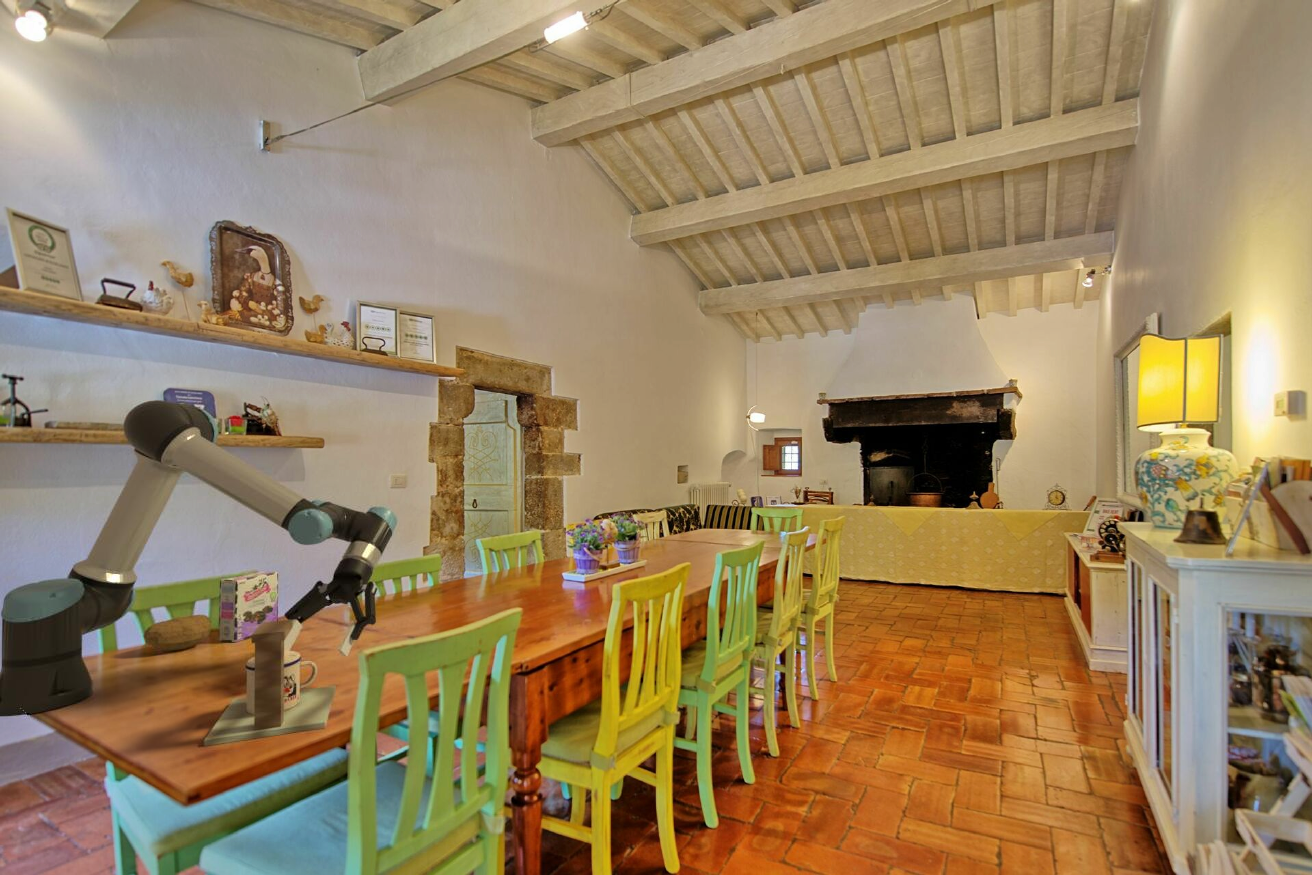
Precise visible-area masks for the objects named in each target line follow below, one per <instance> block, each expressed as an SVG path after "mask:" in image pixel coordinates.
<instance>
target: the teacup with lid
mask: <svg viewBox="0 0 1312 875" xmlns="http://www.w3.org/2000/svg"><path fill="white" fill-rule="evenodd" d="M301 660H302V655H301V654H300V653H299V652H298V651H293V650H290V651H289V650H286V649H284V711H285V710H288V709H290V708H292V707H294V706H296V705H297V704H298V703H299V700H300V690H302V689H304V688H307V687H308V686H310V685H311V684H312V683H313V682H314V680H315V679H316V677H317V674H318V667H317V664H316V663H315V662H313V661H310V660H302V661H301ZM244 666H245V668H246V697H247V712H248V713H250V714H254V695H255V656H253V657H251V658H249V659H248V660H247V662H246V663H245V665H244ZM304 666H310V667H312V668H311V669H312V671H311V672H312V673H311V675H310V677H309V678H308V680H306V681H305V682H303V683H301V682H300V677H301V676H300V674H301V673H300V672H301V671H300V669H301V668H300V667H304Z"/></svg>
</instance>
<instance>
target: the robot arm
mask: <svg viewBox="0 0 1312 875" xmlns="http://www.w3.org/2000/svg"><path fill="white" fill-rule="evenodd" d="M122 428H123V434H124V437H125V439H126V440H127V442H128V443H129V444H130V445H131V446H132V447H133V448H134V449H133V452H134V454H135V456H136V458H137V461H136V463H135V465H134V467H133V469H132V471H131V472H130V475H129V477H128V478H127V480H126V482H125V484H124V487H123V488H122V490H121V492H120V494H119V496H118V498H117V500H116V502H115V504H114V506H113V507H112V509H111V511H110V513H109V516H107V520H106V521H105V523H104V524H103V527H102V529H101V530H100V533H99V535H98V536H97V538H96V540H95V542H94V544H93V546H92V547H91V550H90V552H89V554H88V555H87V557H86V559H83V560H81V561H78V562H75V563H74V564H73V565H72V567H71V570H70V571H69V574H68V575H67V577H66V578H54V579H45V580H41V581H38V582H31V583H28V584H27V583H26V584H23V585H20V586H18V587H16V588H13V589H12V590H10V591H8V592H7V593H6V595H4V598H3V602H2V609H1V611H0V616H1V669H0V717H18V716H25V715H27V714H26V713H29V714H28V715H32V714H36V713H37V714H38V713H43V712H47V711H50V710H55V709H59V708H63V707H66V706H69V705H72V704H75V703H78V702H80V701H82V700H84V699H87V698H88V697H90V696H91V695H92V694H93V689H94V687H93V684H94V683H93V682H94V680H93V679H92V677H91V675H90V672H89V670H88V667H87V666H86V663H85V661H84V660H85V659H84V658H83V636H84V635H86V634H89V633H91V632H94V631H97V630H100V629H103V628H106V627H109V626H110V625H112V624H114V623H116V622H117V621H120V620H121V619H122V618H124V617H125V615H127V614H128V613H129V612H130V611H131V609H132V607H133V606H134V604H135V601H136V596H137V594H136V589H135V583H136V582H137V579H138V576H137V574H136V572H135V570H134V568H135V566H136V564H137V563H138V561H139V559H140V557H141V554H142V553H143V550H144V548H145V547H146V545H147V543H148V541H149V539H150V537H151V535H152V533H153V531H154V529H155V527H156V525H157V523H158V521H159V519H160V517H161V515H162V513H163V512H164V509H165V508H166V506H167V504H168V502H169V500H170V498H171V496H172V493H173V492H174V490H175V488H176V486H177V484H178V482H179V480H180V478H181V476H182V474H184V473H187V474H189V475H191V476H193V477H194V478H196V479H197V480H200V481H201V482H203V483H205V484H206V485H208V486H210V487H211V488H213V489H215V490H217V491H219V493H222V494H223V495H225V496H227V497H228V498H230V499H232V500H234V501H236V502H237V503H239V504H241V505H242V506H244V507H246V508H248V509H250V510H251V511H253V512H255V514H258V515H260V516H261V517H263V518H265V519H266V520H268V521H270V522H271V523H274V524H275V525H277V526H278V527H280V528H282V529H284V530H285V531H287V532H288V533H289V536H290V537H291V539H292V540H293V541H294V542H295V543H297V544H300V545H303V546H310V545H311V546H312V545H318V544H321V543H323V542H325V541H326V540H329V539H332V538H333V539H337V540H340V541H344V542H347V543H349V544H348V546H347V548H346V549H345V552H344V554H343V556H342V557H341V560H340V561H339V563H338V565H337V566H336V568H335V570H334V572H333V574H332V575H333V577H332V580H331V581H330V582H328V583H324V582H323V581H322V580H317V581H316V583H315V584H314V586H313V587H312V588H311V589H310V590H309V591H308V592H307V593H306V594H305V595H304V596H302V597H301V598H300V599H299V600H298V601H297V602H296V603H294V604H293V606H292V607H290V608H289V609H288V610H287V611H286V612H285V613H284V615H283V616H284V617H285V619H286V620H293V628H292V629H291V631H290V632H289V634H288V635H287V637H286V638H285V640H284V649H286V650H289V651H291V648H292V647H293V645H294V644H295V641H296V639H297V638H298V636H299V634H300V632H301V631H302V628H303V623H304V622H305V621H307V620H309V619H310V618H312V617H313V616H314V615H316V614H317V613H319V612H320V611H322V610H323V609H324V608H326V607H331V606H332V605H333V604H335V605H338V604H339V605H340V604H341V605H348V604H350V607H351V609H352V612H353V614H354V615H353V616H354V617H355V618H354V620H355V621H354V620H351V622H350V624H349V626H348V628H347V630H346V632H345V634H344V636H343V637H342V640H341V642H340V644H339V646H338V648H337V651H338V652H339V653H340V654H341V655H342V657H348V655H349V653H350V651H351V649H352V647H353V644H354V643H355V641H358V640H359V638H360V637H361V635H362V632H363V630H364V629H365V628H366V626H368V625H371V626H373V625H375V624H376V622H377V620H376V619H377V617H376V614H377V613H376V594H377V591H378V588H377V586H376V585H375V584H374V582H373V581H370V580H371V578H372V576H373V572H374V571H375V569H376V567H377V565H378V563H379V561H380V559H381V557H382V555H383V553H384V552H385V549H386V548H387V546H388V543H389V542H390V540H391V538H392V537H393V535H394V534H393V533H394V530H395V528H396V527H397V524H398V518H397V515H396V514H395V513H394V511H392V510H390V509H389V508H387V507H384V506H373V507H370V508H369V509H368V510H367V511H366V512H364V511H359V510H355V509H351V508H349V507H346V506H345V507H344V506H342V505H339V504H336V503H334V502H331V501H326V500H320V499H315V500H312V501H310V500H308V499H306V498H305V497H304V496H302V495H300V494H298V493H297V492H295V491H294V490H292V489H290V488H288V487H287V486H285V485H284V484H281V483H280V482H278V481H277V480H275V479H273V478H272V477H270V476H269V475H267V474H265V473H263V472H262V471H261V470H258V469H256V468H255V467H253V466H252V465H251V464H248V463H246V462H245V461H243V460H242V459H240V458H238V457H237V456H235V455H233V454H231V453H230V452H229V451H227V450H225V449H223V448H222V447H220V446H218V445H216V442H217V441H218V436H219V428H218V424H217V422H216V420H215V418H214V417H213V416H212V414H210V412H208V411H207V410H205V409H203V408H201V407H198V406H195V405H193V404H189V403H181V402H180V403H179V402H173V401H168V400H159V399H157V400H156V399H155V400H149V401H145V402H142V403H139V404H137V405H136V406H134V407H133V408H131V410H130V411H129V412H128V413H127V415H126V416H125V418H124V421H123V426H122ZM363 593H364V612H365V614H364V612H363V610H362V606H361V605H360V601H359V598H358V596H360V595H361V594H363ZM327 597H328V598H327ZM20 708H21V709H20ZM23 710H24V711H23ZM25 712H26V713H25Z"/></svg>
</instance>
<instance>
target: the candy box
mask: <svg viewBox="0 0 1312 875" xmlns="http://www.w3.org/2000/svg"><path fill="white" fill-rule="evenodd" d="M218 599H219V603H218V604H219V608H218V610H219V611H218V612H219V613H218V641H219V642H226V643H238V642H241V641H243V640H247V639H252V634H253V632H254V631H255V630H256V629H257V628H258V627H259V625H260V624H261V623H262V622H272V621H279V572H278V571H264V570H263V571H259V572H255V573H248V574H244V575H239V576H235V577H229V578H223V579H222V578H221V579H219V598H218Z"/></svg>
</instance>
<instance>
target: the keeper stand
mask: <svg viewBox="0 0 1312 875" xmlns="http://www.w3.org/2000/svg"><path fill="white" fill-rule="evenodd" d="M292 628H293V620H288V619H285V620H278V621H272V622H262V623H261V624H260V625H259V627H258V628H257V629H256V630H255V631H254V632H253V634H252V637H251V644H254V657H255V695H254V714H250V713H248V712H247V696H245V697H239V698H238V697H236V698H232V700H231V701H230V703H229V705H228V706H227V707H226V709H225V710H224V712H223V713H222V714H221V716H220V717H219V719H218V720H217V722H216V723H215V724H214V725H213V727H212V728H211V729H210V732H209V733H208V734H207V735H206V737H205V739H204V740H203V743H204V744H203V746H204V747H208V746H215V745H221V744H223V745H224V744H228V743H234V742H241V741H247V740H255V739H254V738H256V739H261V738H269V737H274V736H280V735H281V736H282V735H289V734H293V733H300V732H307V731H314V730H321V729H325V728H326V726H327V722H328V719H329V715H330V712H331V707H332V705H333V700H334V697H335V695H336V694H335V693H336V687H337V686H336V685H329V686H322V687H321V686H320V687H314V688H308V689H307V688H306V689H300V700H299V703H298V704H297V705H296V706H294V707H292V708H290V709H288V710H285V711H284V640H285V638H286V637H287V635H288V634H289V632H290V631H291V629H292Z"/></svg>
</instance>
